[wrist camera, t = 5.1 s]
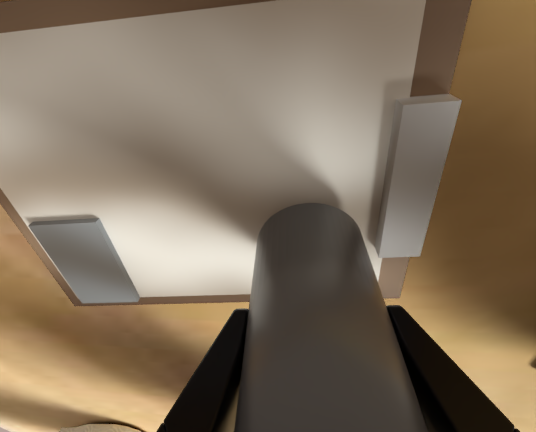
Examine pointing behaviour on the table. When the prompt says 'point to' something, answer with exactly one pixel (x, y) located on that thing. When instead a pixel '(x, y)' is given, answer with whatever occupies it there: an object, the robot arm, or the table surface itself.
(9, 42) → the clipboard
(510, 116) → the table surface
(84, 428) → the paper towel roll
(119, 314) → the table surface
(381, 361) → the water bottle
